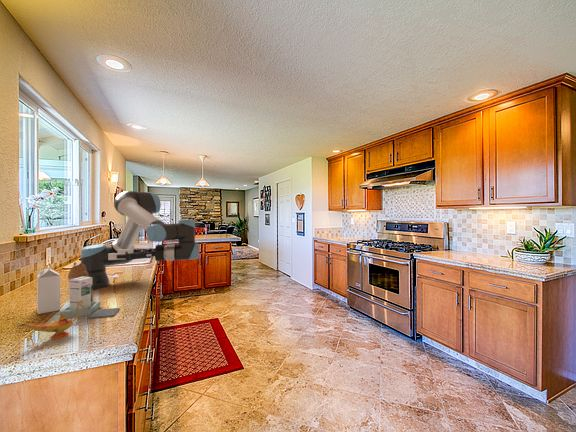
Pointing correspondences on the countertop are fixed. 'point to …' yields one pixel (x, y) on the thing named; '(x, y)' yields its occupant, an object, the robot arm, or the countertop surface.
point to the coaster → (103, 313)
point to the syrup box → (80, 293)
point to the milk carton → (48, 291)
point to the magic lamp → (56, 325)
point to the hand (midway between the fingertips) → (113, 254)
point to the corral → (80, 310)
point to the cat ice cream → (77, 271)
